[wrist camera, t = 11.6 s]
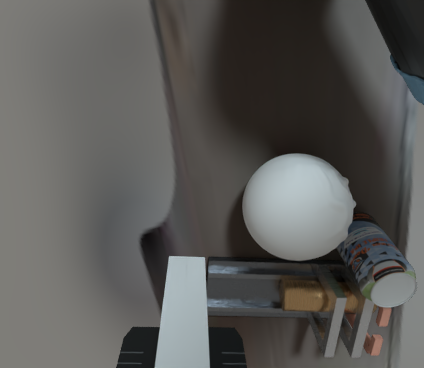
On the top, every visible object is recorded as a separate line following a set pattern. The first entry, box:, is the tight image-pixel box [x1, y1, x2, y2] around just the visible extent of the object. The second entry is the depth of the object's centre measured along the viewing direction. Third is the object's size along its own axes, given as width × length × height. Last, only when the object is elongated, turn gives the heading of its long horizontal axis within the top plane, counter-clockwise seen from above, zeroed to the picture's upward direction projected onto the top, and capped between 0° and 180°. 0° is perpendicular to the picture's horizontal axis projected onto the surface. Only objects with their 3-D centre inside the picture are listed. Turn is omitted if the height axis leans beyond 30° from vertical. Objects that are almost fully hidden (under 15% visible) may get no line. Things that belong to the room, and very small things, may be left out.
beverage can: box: [336, 213, 417, 308], centre depth 43 cm, size 6×7×12 cm
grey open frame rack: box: [206, 257, 356, 318], centre depth 50 cm, size 9×23×2 cm, turn 86°
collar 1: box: [307, 264, 347, 357], centre depth 47 cm, size 9×1×7 cm, turn 176°
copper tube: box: [279, 280, 377, 313], centre depth 48 cm, size 12×4×4 cm, turn 86°
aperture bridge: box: [345, 305, 392, 355], centre depth 47 cm, size 8×1×8 cm, turn 176°
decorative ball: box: [242, 153, 356, 261], centre depth 40 cm, size 12×12×12 cm
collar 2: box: [339, 265, 374, 358], centre depth 47 cm, size 9×1×7 cm, turn 176°
